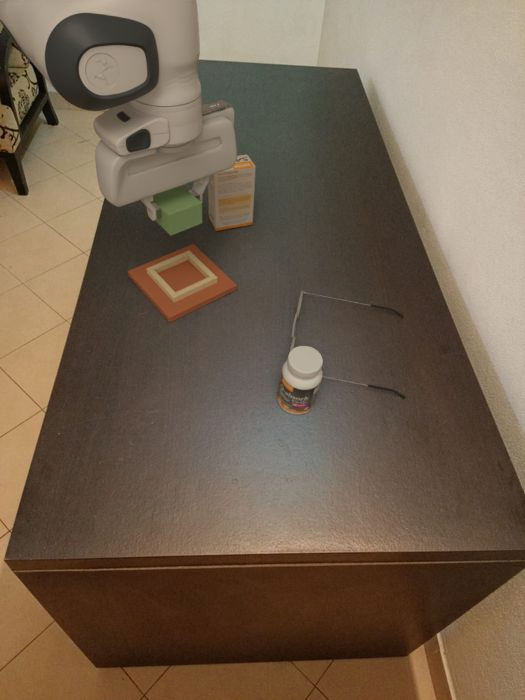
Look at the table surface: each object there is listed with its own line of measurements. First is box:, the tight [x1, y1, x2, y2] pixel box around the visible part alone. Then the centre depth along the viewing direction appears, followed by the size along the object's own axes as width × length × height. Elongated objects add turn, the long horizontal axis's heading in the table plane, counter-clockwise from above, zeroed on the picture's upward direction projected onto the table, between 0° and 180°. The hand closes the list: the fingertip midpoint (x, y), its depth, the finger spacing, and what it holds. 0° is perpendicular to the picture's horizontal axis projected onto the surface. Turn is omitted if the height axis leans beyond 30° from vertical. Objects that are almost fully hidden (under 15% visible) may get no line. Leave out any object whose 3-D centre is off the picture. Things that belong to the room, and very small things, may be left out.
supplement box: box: [207, 154, 257, 232], centre depth 92 cm, size 8×5×13 cm, turn 111°
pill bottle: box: [276, 345, 324, 416], centre depth 66 cm, size 6×6×10 cm
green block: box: [150, 185, 203, 236], centre depth 69 cm, size 6×6×4 cm
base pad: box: [127, 243, 238, 323], centre depth 83 cm, size 14×14×2 cm
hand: (175, 210), depth 70 cm, fingers closed on green block, 5 cm apart
